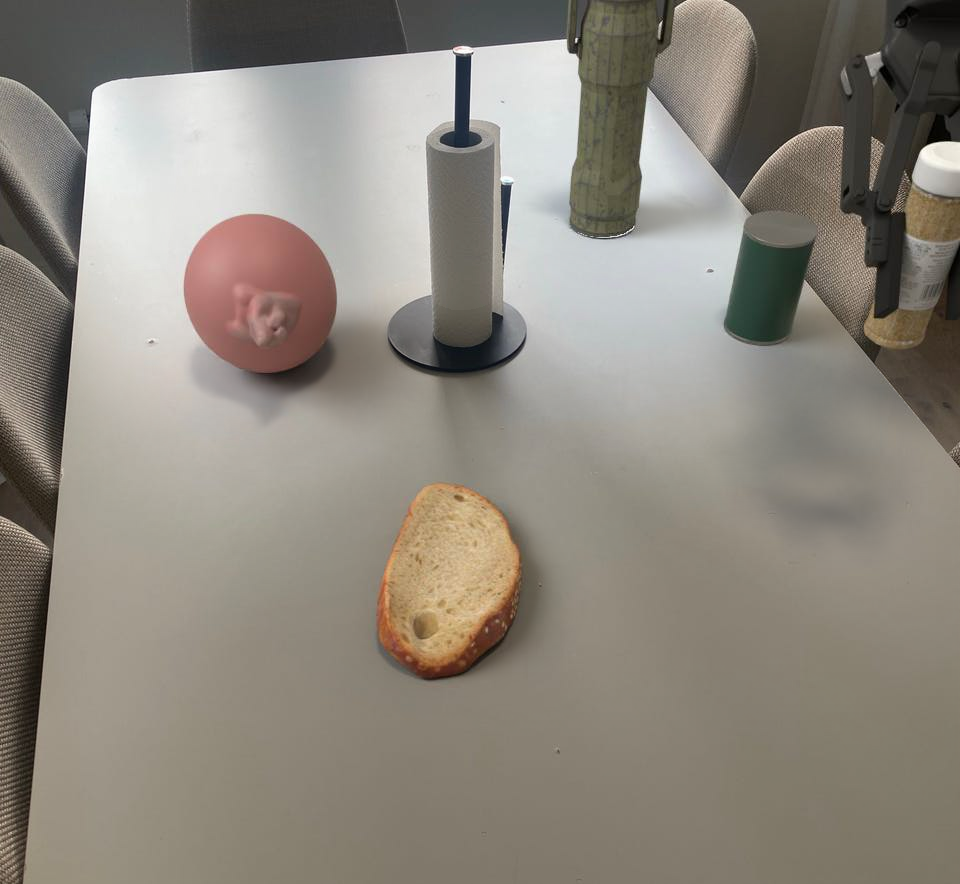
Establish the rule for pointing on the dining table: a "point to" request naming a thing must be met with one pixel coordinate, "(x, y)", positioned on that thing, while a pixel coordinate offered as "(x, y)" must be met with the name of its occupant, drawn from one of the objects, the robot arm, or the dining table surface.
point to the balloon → (260, 293)
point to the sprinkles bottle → (924, 246)
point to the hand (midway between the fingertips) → (922, 313)
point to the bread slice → (448, 582)
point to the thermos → (612, 108)
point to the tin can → (769, 276)
